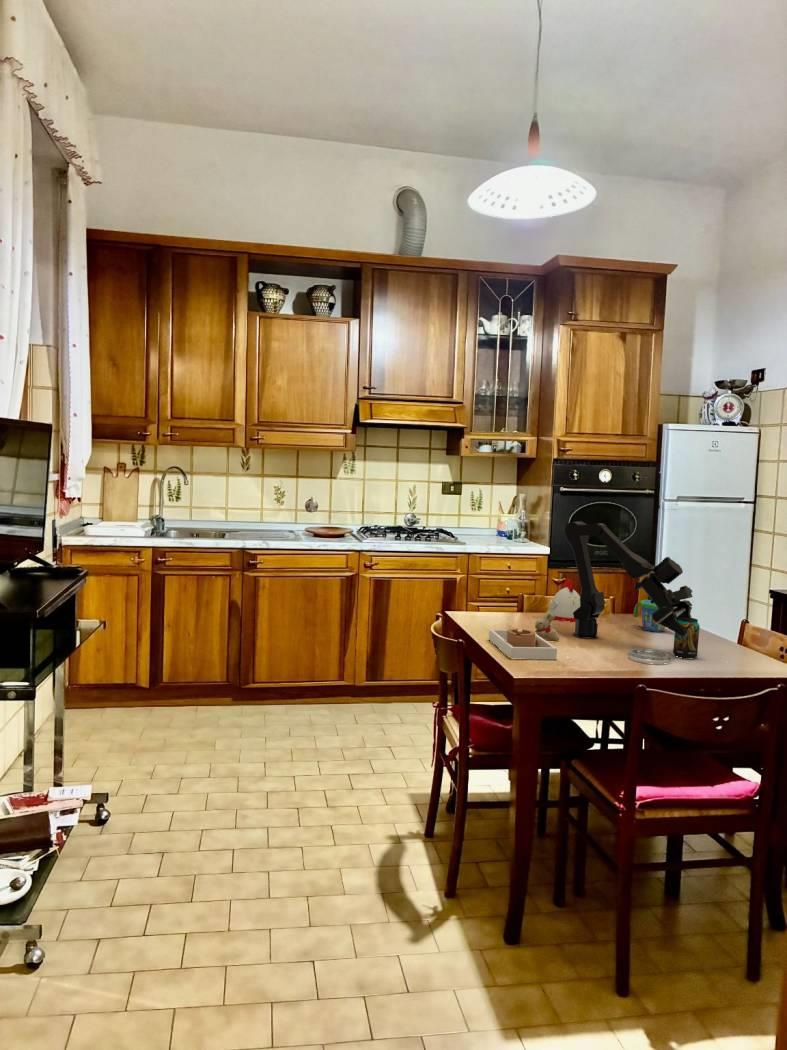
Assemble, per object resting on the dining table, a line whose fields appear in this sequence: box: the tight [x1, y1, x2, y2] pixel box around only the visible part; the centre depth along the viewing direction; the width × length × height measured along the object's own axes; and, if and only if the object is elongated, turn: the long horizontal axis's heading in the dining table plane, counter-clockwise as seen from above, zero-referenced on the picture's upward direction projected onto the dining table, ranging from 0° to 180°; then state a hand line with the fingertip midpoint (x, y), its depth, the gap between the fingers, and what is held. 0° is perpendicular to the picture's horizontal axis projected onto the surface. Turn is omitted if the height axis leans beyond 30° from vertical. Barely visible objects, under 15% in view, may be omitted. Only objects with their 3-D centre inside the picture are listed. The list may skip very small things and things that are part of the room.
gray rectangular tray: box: [488, 629, 558, 660], centre depth 237 cm, size 14×24×4 cm, turn 8°
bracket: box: [506, 628, 536, 647], centre depth 237 cm, size 18×8×7 cm, turn 167°
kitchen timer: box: [547, 578, 581, 623], centre depth 292 cm, size 14×14×15 cm
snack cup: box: [633, 599, 666, 633], centre depth 278 cm, size 16×10×10 cm
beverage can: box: [672, 617, 701, 659], centre depth 239 cm, size 7×7×12 cm
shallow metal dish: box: [627, 648, 672, 664], centre depth 233 cm, size 12×12×2 cm
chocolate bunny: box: [534, 611, 560, 642], centre depth 252 cm, size 6×8×10 cm
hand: (689, 633), depth 238 cm, fingers open, 9 cm apart
